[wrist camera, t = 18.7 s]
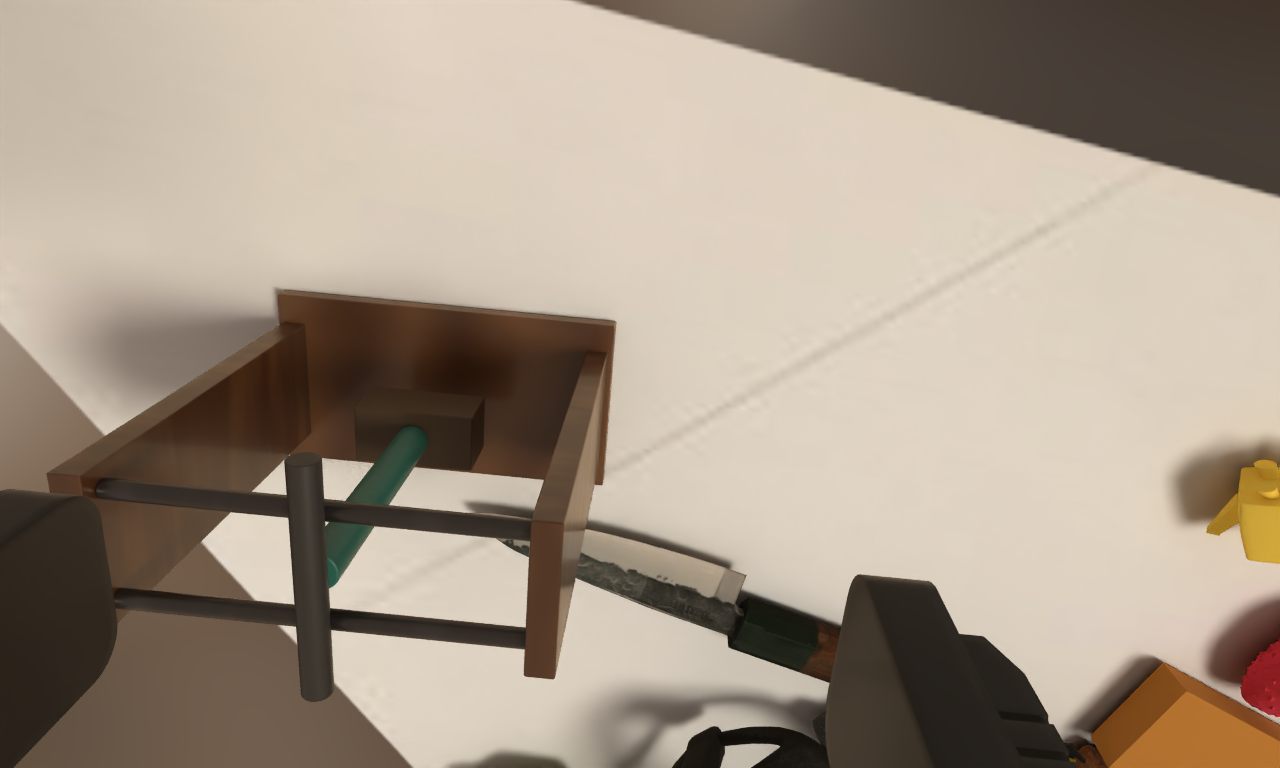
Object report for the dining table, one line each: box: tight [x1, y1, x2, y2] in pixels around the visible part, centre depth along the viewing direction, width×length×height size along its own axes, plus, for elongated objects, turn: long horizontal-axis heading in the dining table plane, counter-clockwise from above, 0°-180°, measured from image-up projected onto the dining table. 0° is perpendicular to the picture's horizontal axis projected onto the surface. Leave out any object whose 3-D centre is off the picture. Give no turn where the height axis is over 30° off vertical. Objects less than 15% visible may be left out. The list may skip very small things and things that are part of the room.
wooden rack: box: [47, 290, 616, 679], centre depth 40 cm, size 19×10×20 cm, turn 85°
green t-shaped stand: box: [284, 387, 485, 702], centre depth 38 cm, size 6×10×16 cm, turn 175°
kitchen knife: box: [472, 513, 841, 683], centre depth 52 cm, size 36×2×5 cm
